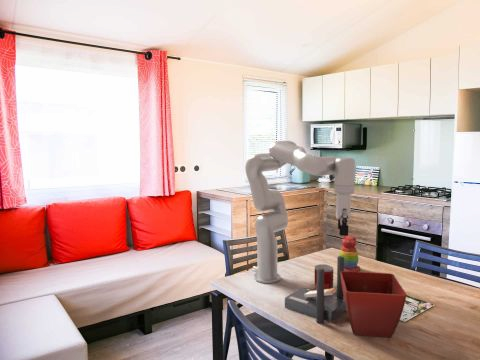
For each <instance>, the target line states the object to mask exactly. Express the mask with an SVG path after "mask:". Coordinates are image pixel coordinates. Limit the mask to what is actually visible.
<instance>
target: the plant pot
mask: <svg viewBox="0 0 480 360" xmlns="http://www.w3.org/2000/svg"><path fill="white" fill-rule="evenodd" d="M340 275H341V284H342V290H343V296H344V301H345V305H346V312H347V315H348V320H349V324H350V325H349V326H350V328H351V331H352V334H353V335H355V336H366V337H367V336H368V337H377V338H378V337H379V338H380V337H382V338H392V337H393V335H394V334H395V332H396V329H397V327H398V325H399V323H400V320H401V318H402V315H403V311H404V307H405V304H406V300H407V295H408V294H407V293H406V292H405V290H404V288H403V287H402V285H401V284H400V282H399V281H398V279H397V278H396V276H395V275H394V274H393V273H388V272H387V273H386V272H369V271H367V272H365V271H359V272H352V271H341V272H340Z"/></svg>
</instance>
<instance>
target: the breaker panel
mask: <svg viewBox="0 0 480 360" xmlns="http://www.w3.org/2000/svg"><path fill="white" fill-rule="evenodd" d="M309 291H313V289H309V288H306V287H300V288H298V289H296V290H295V291H293V292H292V293H290V294H289V295H287V296H286V297H284V309H288V310H291V311H295V312H297V313H300V314H303V315H306V316H309V317H313V318H315V319H316V311H317V296H316V297H305V296H304V294H306V293H307V292H309ZM345 311H346V312H347V309H346V305H345V301H344V299H341V298H337V296H333V295H326V296H324V322H327V323H331V324H332V323H333V322H335V320H337V319H339V317H340V316H342V314H344V312H345Z"/></svg>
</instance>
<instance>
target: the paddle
mask: <svg viewBox="0 0 480 360" xmlns="http://www.w3.org/2000/svg"><path fill="white" fill-rule="evenodd" d="M335 293H337V288H336V287H333V288H330V289H325V290H324V296H326V295H330V296H333V295H334V294H335ZM304 296H305V297H316V296H317V290H316V291H315V290H312V291H309V292H307V293H306V294H304Z"/></svg>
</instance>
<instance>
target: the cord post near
mask: <svg viewBox="0 0 480 360" xmlns="http://www.w3.org/2000/svg"><path fill="white" fill-rule="evenodd" d="M315 319H316V320H315V321H316V324H318V325H323V324H324V322H325V321H324V269H323V268H318V269H317V311H316V318H315Z"/></svg>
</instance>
